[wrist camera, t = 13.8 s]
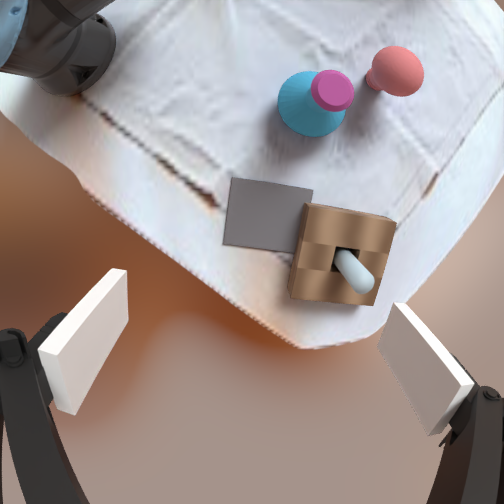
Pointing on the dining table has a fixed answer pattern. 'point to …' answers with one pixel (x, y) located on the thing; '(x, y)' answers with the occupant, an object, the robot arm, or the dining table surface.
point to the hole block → (323, 247)
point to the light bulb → (395, 72)
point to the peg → (353, 270)
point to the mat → (265, 214)
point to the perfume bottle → (315, 101)
